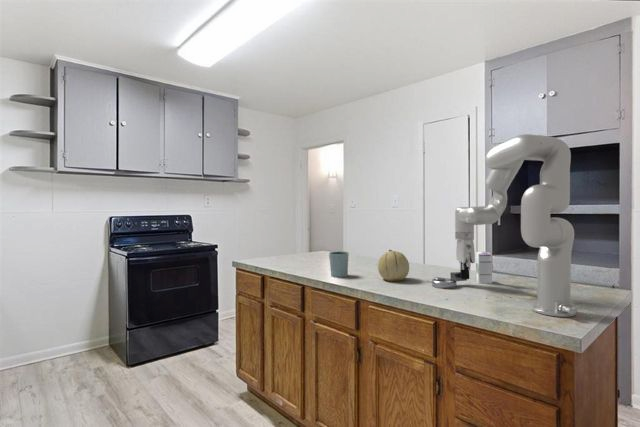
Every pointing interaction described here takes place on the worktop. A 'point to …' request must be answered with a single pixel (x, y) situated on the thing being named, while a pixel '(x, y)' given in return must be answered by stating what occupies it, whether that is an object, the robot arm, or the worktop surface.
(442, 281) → the silver door handle
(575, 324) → the worktop surface
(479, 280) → the syrup box
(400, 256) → the cantaloupe
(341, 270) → the drinking glass
